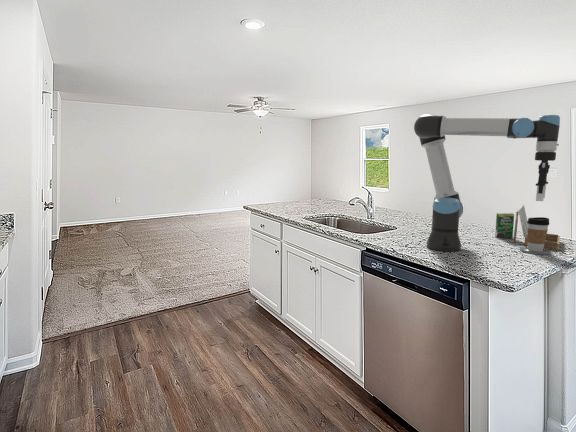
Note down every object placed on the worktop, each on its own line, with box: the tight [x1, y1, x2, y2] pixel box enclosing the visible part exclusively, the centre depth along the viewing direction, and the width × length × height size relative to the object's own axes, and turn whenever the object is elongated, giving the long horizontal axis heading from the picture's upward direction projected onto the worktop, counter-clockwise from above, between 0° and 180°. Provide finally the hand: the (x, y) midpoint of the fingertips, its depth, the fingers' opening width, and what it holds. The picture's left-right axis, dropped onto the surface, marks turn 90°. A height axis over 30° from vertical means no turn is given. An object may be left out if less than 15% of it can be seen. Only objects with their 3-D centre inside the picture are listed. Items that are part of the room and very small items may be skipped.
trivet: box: [519, 246, 552, 256], centre depth 169 cm, size 12×12×1 cm
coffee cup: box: [527, 216, 550, 252], centre depth 168 cm, size 8×8×15 cm
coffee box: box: [494, 212, 515, 239], centre depth 197 cm, size 8×3×13 cm, turn 77°
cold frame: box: [512, 204, 561, 251], centre depth 184 cm, size 22×19×18 cm
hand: (540, 199), depth 165 cm, fingers open, 13 cm apart
